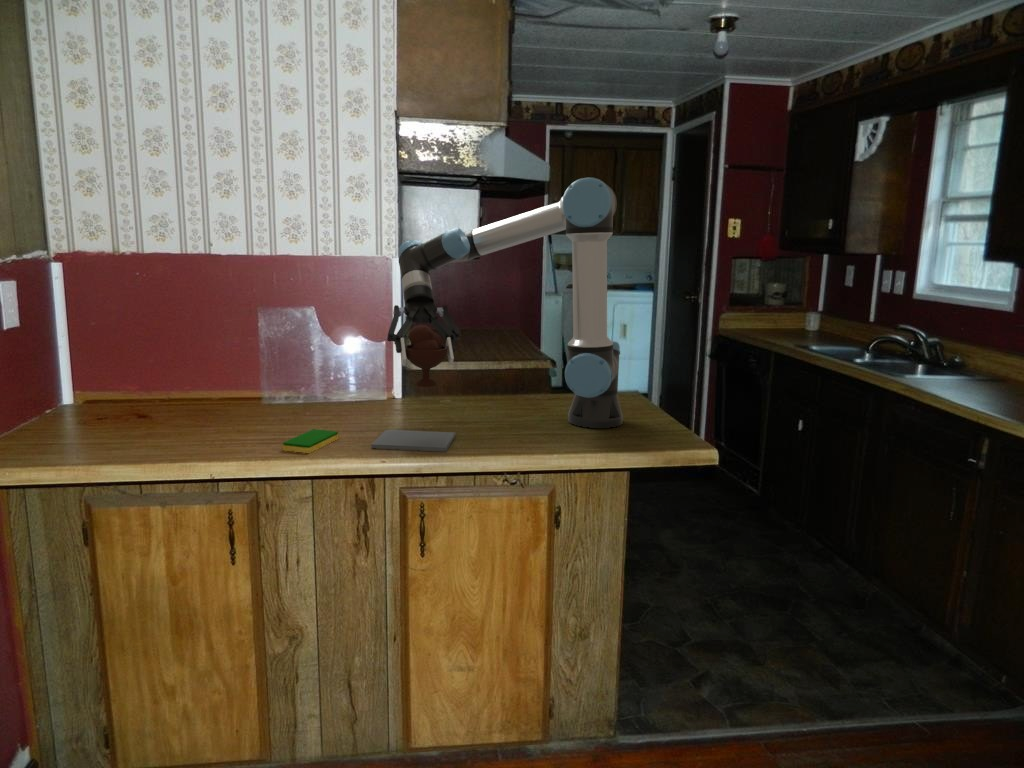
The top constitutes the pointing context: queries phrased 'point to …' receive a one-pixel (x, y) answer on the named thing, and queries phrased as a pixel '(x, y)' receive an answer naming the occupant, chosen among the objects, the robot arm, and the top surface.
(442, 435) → the mat
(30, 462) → the top surface
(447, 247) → the robot arm
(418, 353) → the ice cream bowl
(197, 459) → the top surface
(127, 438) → the top surface
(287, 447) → the dish sponge
